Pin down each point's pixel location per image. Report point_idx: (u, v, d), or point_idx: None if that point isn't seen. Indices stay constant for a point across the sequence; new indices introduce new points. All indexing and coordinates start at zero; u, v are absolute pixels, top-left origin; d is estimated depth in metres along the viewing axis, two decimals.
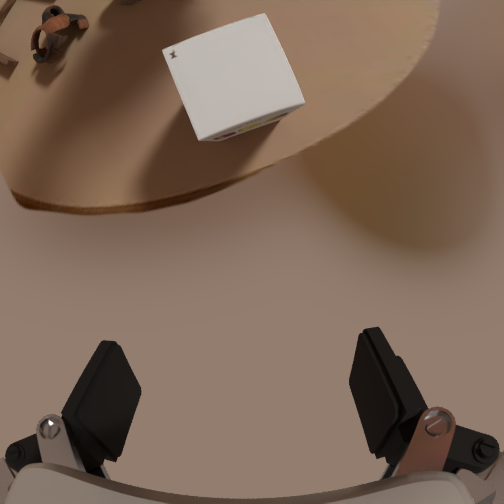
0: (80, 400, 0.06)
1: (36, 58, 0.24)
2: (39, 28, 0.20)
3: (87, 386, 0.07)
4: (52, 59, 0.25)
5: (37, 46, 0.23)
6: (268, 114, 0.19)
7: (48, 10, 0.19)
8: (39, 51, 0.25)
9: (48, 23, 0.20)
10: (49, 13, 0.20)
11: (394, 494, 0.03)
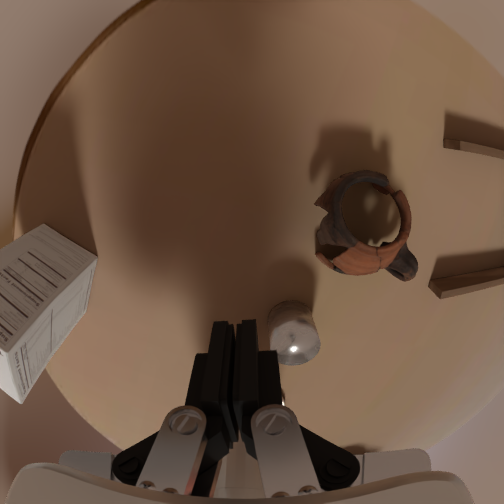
0: (219, 382, 0.07)
1: (373, 178, 0.20)
2: (392, 247, 0.20)
3: (221, 367, 0.08)
4: (331, 187, 0.22)
5: (393, 198, 0.22)
6: None
7: (404, 274, 0.22)
8: None
9: (378, 258, 0.21)
10: (398, 270, 0.22)
11: (394, 494, 0.03)
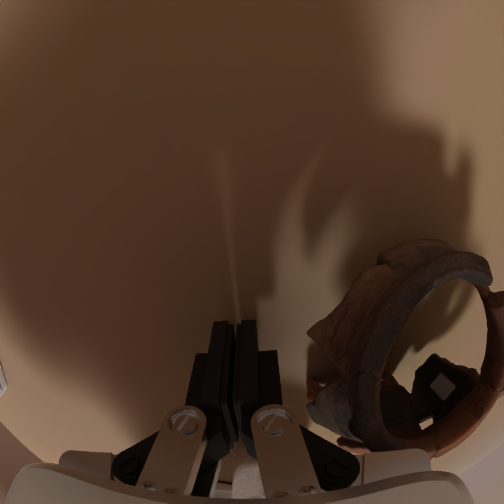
0: (219, 381, 0.07)
1: (467, 274, 0.06)
2: (467, 433, 0.05)
3: (221, 367, 0.08)
4: (356, 300, 0.08)
5: (483, 303, 0.08)
6: None
7: None
8: None
9: None
10: None
11: (394, 494, 0.03)
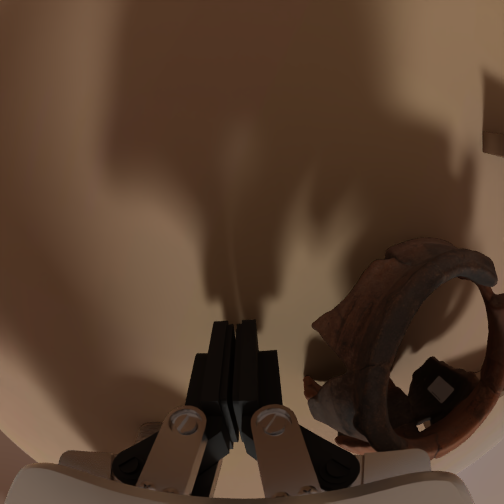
0: (219, 382, 0.07)
1: (473, 272, 0.06)
2: (467, 434, 0.05)
3: (221, 367, 0.08)
4: (364, 293, 0.07)
5: (486, 305, 0.07)
6: None
7: None
8: None
9: None
10: None
11: (394, 494, 0.03)
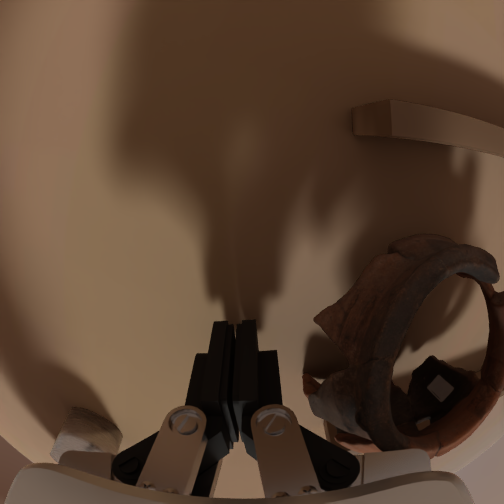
0: (219, 382, 0.07)
1: (476, 268, 0.06)
2: (469, 432, 0.05)
3: (221, 367, 0.08)
4: (367, 286, 0.07)
5: (487, 303, 0.07)
6: None
7: None
8: None
9: None
10: None
11: (394, 494, 0.03)
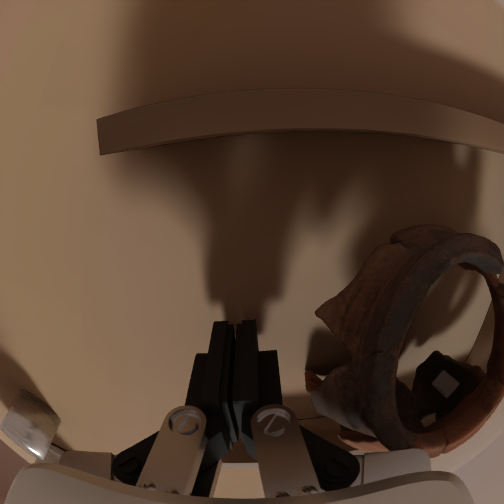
0: (219, 382, 0.07)
1: (480, 258, 0.06)
2: (476, 428, 0.05)
3: (221, 367, 0.08)
4: (369, 277, 0.07)
5: (492, 295, 0.07)
6: None
7: None
8: (478, 267, 0.08)
9: None
10: None
11: (394, 494, 0.03)
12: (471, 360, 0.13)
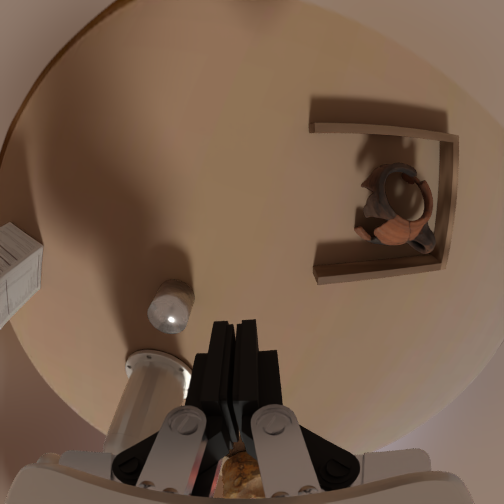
0: (219, 382, 0.07)
1: (406, 169, 0.25)
2: (420, 221, 0.24)
3: (221, 367, 0.08)
4: (374, 174, 0.26)
5: (418, 186, 0.26)
6: None
7: (426, 246, 0.27)
8: (412, 178, 0.27)
9: (409, 230, 0.25)
10: (422, 243, 0.27)
11: (394, 494, 0.03)
12: (435, 237, 0.32)
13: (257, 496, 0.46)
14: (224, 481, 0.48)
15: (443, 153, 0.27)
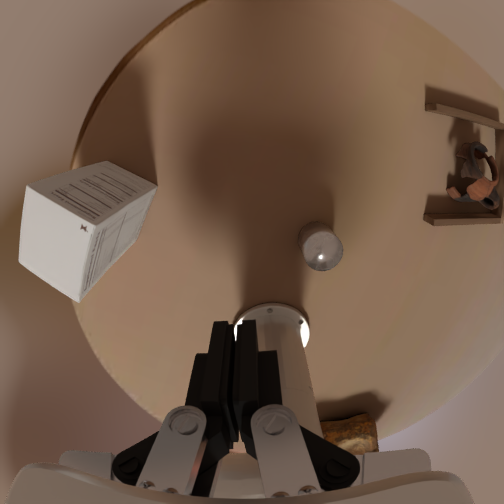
0: (219, 382, 0.07)
1: (482, 146, 0.28)
2: (494, 182, 0.27)
3: (221, 367, 0.08)
4: (464, 147, 0.29)
5: (487, 160, 0.29)
6: None
7: (495, 202, 0.29)
8: (482, 154, 0.30)
9: (488, 188, 0.28)
10: (492, 199, 0.29)
11: (394, 494, 0.03)
12: None
13: None
14: None
15: (498, 138, 0.29)
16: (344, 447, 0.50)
